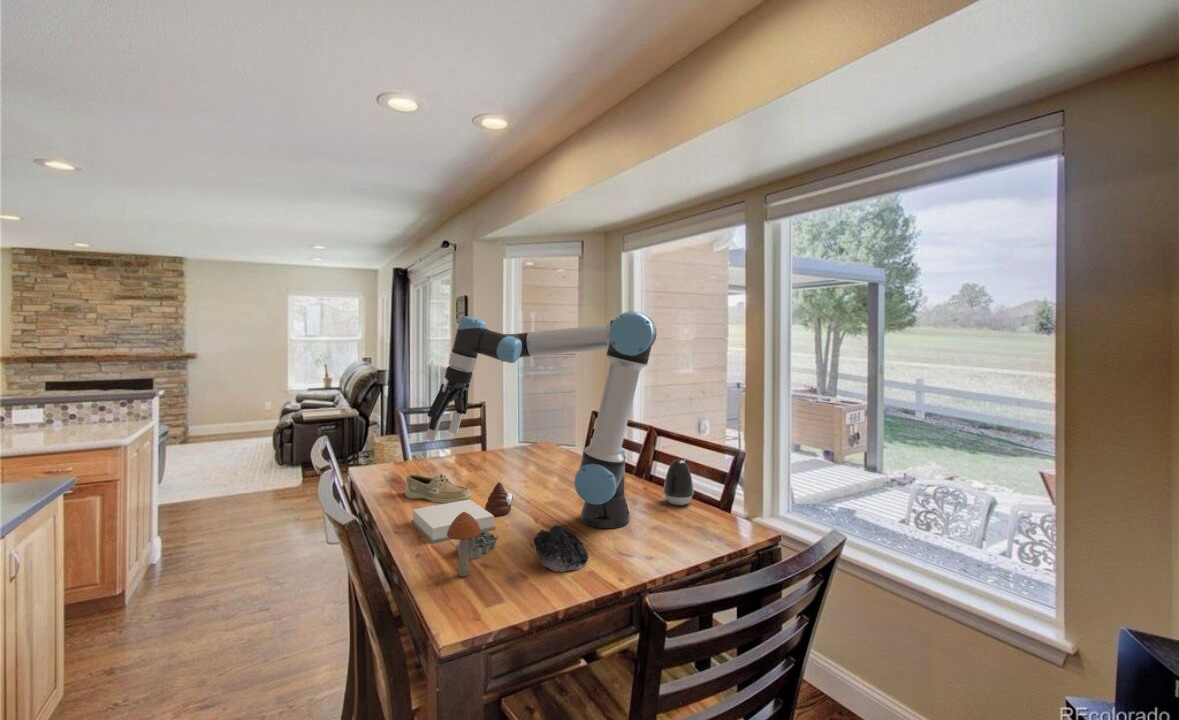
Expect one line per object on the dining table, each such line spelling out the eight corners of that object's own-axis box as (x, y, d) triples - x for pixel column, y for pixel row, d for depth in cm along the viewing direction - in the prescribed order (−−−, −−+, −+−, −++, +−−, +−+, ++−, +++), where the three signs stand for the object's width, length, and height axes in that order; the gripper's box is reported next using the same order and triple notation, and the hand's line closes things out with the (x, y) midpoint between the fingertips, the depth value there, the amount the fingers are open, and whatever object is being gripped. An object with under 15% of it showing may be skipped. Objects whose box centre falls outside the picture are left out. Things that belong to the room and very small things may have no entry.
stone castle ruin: (475, 562, 128) (475, 546, 128) (452, 556, 132) (452, 540, 132) (500, 546, 138) (501, 531, 138) (478, 541, 141) (478, 526, 141)
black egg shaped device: (697, 501, 178) (698, 458, 177) (686, 510, 169) (687, 464, 168) (670, 496, 183) (671, 454, 182) (658, 504, 174) (659, 460, 174)
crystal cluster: (594, 556, 134) (592, 518, 135) (582, 575, 121) (580, 532, 121) (545, 555, 137) (544, 517, 137) (528, 573, 124) (527, 531, 124)
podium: (495, 529, 150) (495, 515, 149) (432, 543, 139) (432, 528, 139) (470, 511, 165) (470, 498, 164) (411, 522, 154) (411, 509, 154)
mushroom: (469, 563, 127) (470, 503, 126) (487, 574, 121) (488, 512, 121) (440, 573, 121) (440, 511, 121) (457, 585, 116) (457, 520, 115)
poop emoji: (486, 506, 169) (487, 479, 169) (512, 506, 170) (513, 478, 170) (483, 517, 159) (484, 487, 159) (511, 516, 160) (511, 487, 160)
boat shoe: (475, 498, 178) (475, 476, 178) (461, 506, 170) (461, 482, 169) (415, 491, 186) (415, 469, 185) (399, 498, 177) (398, 475, 177)
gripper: (467, 364, 164) (450, 426, 166) (427, 365, 140) (407, 438, 141) (488, 370, 163) (471, 433, 164) (451, 373, 138) (431, 447, 140)
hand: (441, 436), depth 153 cm, fingers open, 13 cm apart
